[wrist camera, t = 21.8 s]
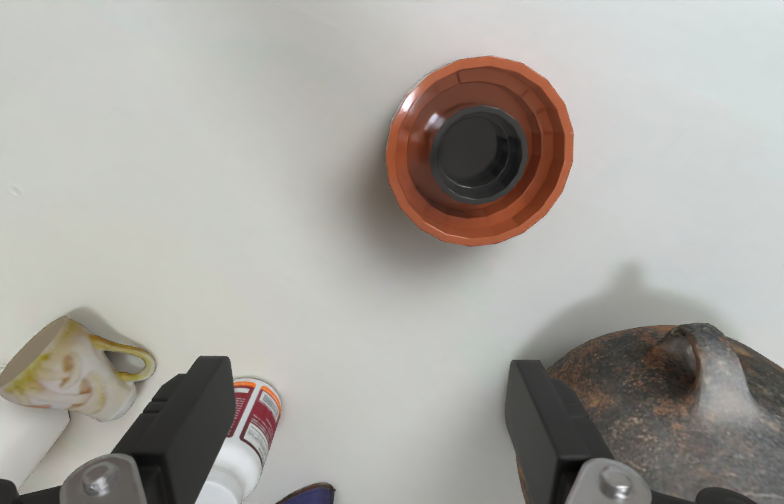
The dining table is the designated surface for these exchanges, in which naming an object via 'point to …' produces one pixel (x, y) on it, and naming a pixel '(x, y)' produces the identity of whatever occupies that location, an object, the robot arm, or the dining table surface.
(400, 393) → the dining table surface
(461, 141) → the black bowl
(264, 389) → the pill bottle
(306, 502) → the flask
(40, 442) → the cup
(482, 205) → the terracotta bowl
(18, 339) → the dining table surface
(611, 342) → the jug
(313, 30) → the dining table surface
